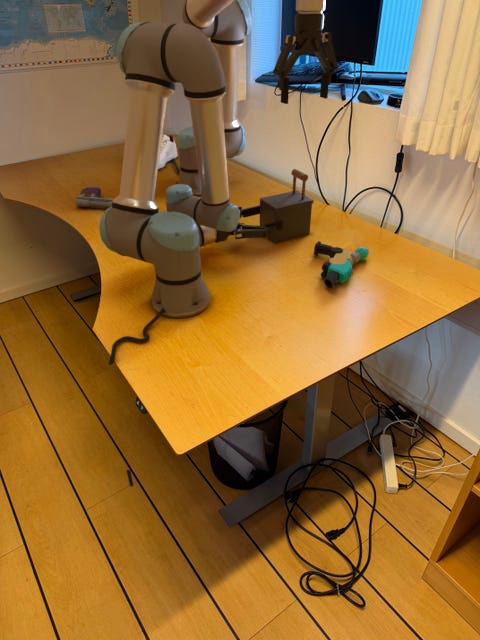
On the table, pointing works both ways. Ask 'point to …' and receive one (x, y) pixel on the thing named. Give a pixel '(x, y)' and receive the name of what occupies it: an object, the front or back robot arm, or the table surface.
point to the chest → (287, 222)
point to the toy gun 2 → (338, 262)
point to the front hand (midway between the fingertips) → (271, 216)
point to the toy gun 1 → (93, 198)
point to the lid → (289, 196)
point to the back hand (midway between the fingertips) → (304, 100)
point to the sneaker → (167, 150)
